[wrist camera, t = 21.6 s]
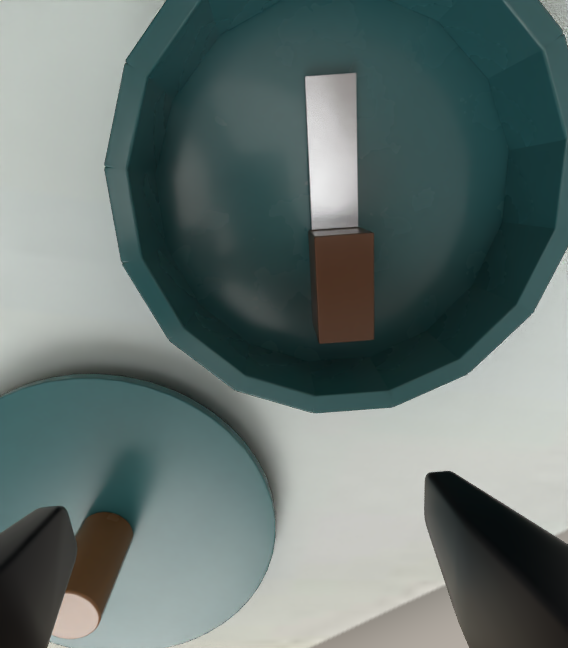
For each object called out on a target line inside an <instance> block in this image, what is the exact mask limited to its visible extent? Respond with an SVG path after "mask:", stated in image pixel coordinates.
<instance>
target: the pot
mask: <svg viewBox="0 0 568 648" xmlns="http://www.w3.org/2000/svg"><path fill="white" fill-rule="evenodd" d="M562 33H563V30H562V29H561V28H560V26H559V25H558V24H557V23H556V21H555V20H554V19H553V17H552V16H551V15H550V14H549V12H548V11H547V10H546V9H545V7H544V6H543V5H542V3H541V2H540V1H539V0H166V2H165V3H164V5H163V6H162V8H161V9H160V11H159V12H158V13H157V15H156V16H155V18H154V19H153V21H152V22H151V24H150V25H149V27H148V28H147V30H146V31H145V33H144V34H143V35H142V37H141V38H140V40H139V41H138V43H137V44H136V46H135V47H134V49H133V50H132V52H131V53H130V55H129V56H128V57H127V59H126V63H125V65H124V69H123V74H122V79H121V84H120V89H119V94H118V99H117V104H116V109H115V114H114V119H113V124H112V129H111V134H110V139H109V144H108V148H107V153H106V158H105V163H104V164H105V169H104V170H105V176H106V181H107V187H108V192H109V198H110V203H111V209H112V214H113V220H114V225H115V231H116V236H117V242H118V247H119V253H120V258H121V262H122V263H123V264H122V265H123V267H124V269H125V270H126V272H127V273H128V275H129V277H130V278H131V280H132V281H133V283H134V285H135V286H136V288H137V290H138V291H139V293H140V294H141V296H142V298H143V299H144V301H145V303H146V304H147V306H148V307H149V309H150V311H151V312H152V314H153V316H154V317H155V319H156V320H157V322H158V324H159V325H160V327H161V328H162V330H163V332H164V333H165V335H166V337H167V338H168V339H169V341H170V342H171V343H173V344H174V345H175V346H177V347H178V348H179V349H181V350H182V351H183V352H185V353H186V354H187V355H189V356H190V357H191V358H193V359H194V360H195V361H197V362H198V363H199V364H200V365H202V366H203V367H204V368H206V369H207V370H208V371H210V372H211V373H212V374H214V375H215V376H216V377H218V378H219V379H220V380H222V381H223V382H224V383H226V384H227V385H228V386H230V387H231V388H232V389H234V390H236V391H238V392H242V393H245V394H248V395H252V396H255V397H259V398H262V399H266V400H269V401H273V402H276V403H280V404H283V405H286V406H290V407H293V408H297V409H300V410H304V411H307V412H311V413H312V412H313V413H325V412H338V411H352V410H365V409H379V408H392V407H395V406H397V405H399V404H402V403H404V402H406V401H408V400H411V399H413V398H415V397H417V396H420V395H422V394H424V393H426V392H429V391H431V390H433V389H435V388H438V387H440V386H442V385H444V384H447V383H449V382H451V381H453V380H456V379H458V378H460V377H462V376H465V375H467V374H468V373H469V372H471V371H472V370H473V369H474V368H475V367H476V366H477V365H478V364H479V363H480V362H481V361H482V360H484V359H485V358H486V357H487V356H488V355H489V354H490V353H491V352H492V351H493V350H494V349H495V348H496V347H497V346H498V345H500V344H501V343H502V342H503V341H504V340H505V339H506V338H507V337H508V336H509V335H510V334H511V333H512V332H513V331H514V330H516V329H517V328H518V327H519V326H520V325H521V324H522V323H523V322H524V321H525V320H526V319H527V318H528V317H529V316H531V313H533V312H534V310H535V308H536V306H537V304H538V303H539V301H540V299H541V297H542V295H543V293H544V291H545V289H546V287H547V285H548V284H549V282H550V280H551V278H552V276H553V274H554V272H555V270H556V268H557V266H558V265H559V263H560V261H561V259H562V257H563V255H564V253H565V251H566V249H567V247H568V46H567V42H566V38H565V35H564V34H562ZM352 72H356V73H357V139H358V218H359V227H360V228H363V229H366V230H368V231H371V232H373V233H374V340H366V341H352V342H338V343H325V344H319V342H318V339H317V336H316V333H315V329H314V326H313V321H312V300H311V279H310V258H309V238H308V231H309V230H311V225H310V204H309V182H308V160H307V139H306V117H305V95H304V76H307V75H322V74H337V73H352Z"/></svg>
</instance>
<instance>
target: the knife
mask: <svg viewBox="0 0 568 648" xmlns="http://www.w3.org/2000/svg"><path fill="white" fill-rule="evenodd" d="M304 95H305V117H306V139H307V160H308V182H309V204H310V225H311V230H309V231H308V238H309V258H310V279H311V300H312V321H313V326H314V329H315V333H316V336H317V339H318V342H319V344H325V343H338V342H352V341H366V340H374V233H373V232H371V231H368V230H366V229H363V228H360V227H359V218H358V139H357V73H356V72H352V73H337V74H322V75H307V76H304Z"/></svg>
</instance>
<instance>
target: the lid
mask: <svg viewBox="0 0 568 648" xmlns="http://www.w3.org/2000/svg"><path fill="white" fill-rule="evenodd" d="M51 506H63V507H65V509H66V510H67V512H68V514H69V518H70V521H71V525H72V528H73V532H74V535H75V539H76V542H77V556H76V560H75V564H74V567H73V570H72V573H71V576H70V579H69V582H68V585H67V588H66V591H65V594H64V598H63V601H62V604H61V607H60V610H59V613H58V616H57V619H56V622H55V625H54V628H53V632H52V635H51V638H50V641H49V642H51V643H54V644H57V645H61V646H65V647H69V648H169V647H173V646H176V645H179V644H182V643H185V642H188V641H191V640H193V639H196V638H198V637H200V636H202V635H204V634H206V633H208V632H210V631H212V630H213V629H215V628H216V627H218V626H220V625H221V624H223V623H224V622H226V621H227V620H228V619H229V618H231V617H232V616H233V615H234V614H236V613H237V612H238V611H239V610H240V609H241V608H242V607H243V606H244V605H245V604H246V603H247V601H248V600H249V599H250V598H251V597H252V595H253V594H254V592H255V591H256V590H257V588H258V587H259V585H260V583H261V581H262V579H263V578H264V576H265V574H266V572H267V570H268V567H269V564H270V560H271V557H272V554H273V549H274V542H275V509H274V503H273V497H272V493H271V490H270V487H269V484H268V481H267V478H266V476H265V474H264V472H263V470H262V468H261V466H260V464H259V462H258V460H257V459H256V457H255V456H254V454H253V453H252V452H251V450H250V449H249V447H248V446H247V444H246V443H245V442H244V441H243V440H242V439H241V438H240V437H239V435H238V434H237V433H236V432H235V431H234V430H233V429H232V428H231V427H230V426H229V425H228V424H226V423H225V422H224V421H223V420H222V419H220V418H219V417H218V416H217V415H216V414H214V413H213V412H212V411H210V410H208V409H207V408H205V407H204V406H202V405H201V404H199V403H197V402H196V401H194V400H192V399H190V398H188V397H186V396H184V395H182V394H180V393H178V392H176V391H174V390H172V389H169V388H166V387H163V386H160V385H157V384H154V383H151V382H148V381H144V380H139V379H135V378H130V377H126V376H117V375H107V374H73V375H66V376H58V377H51V378H47V379H44V380H40V381H36V382H32V383H29V384H26V385H24V386H21V387H19V388H17V389H14V390H12V391H9V392H7V393H5V394H4V395H2V396H0V533H1V532H3V531H4V530H6V529H7V528H9V527H10V526H12V525H13V524H15V523H16V522H18V521H19V520H21V519H22V518H24V517H25V516H27V515H28V514H30V513H31V512H33V511H34V510H36V509H38V508H41V507H51Z"/></svg>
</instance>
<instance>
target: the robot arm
mask: <svg viewBox="0 0 568 648" xmlns="http://www.w3.org/2000/svg"><path fill="white" fill-rule="evenodd" d="M424 515H425V522H426V526H427V529H428V532H429V535H430V538H431V542H432V545H433V548H434V551H435V554H436V557H437V560H438V563H439V566H440V569H441V572H442V575H443V578H444V581H445V584H446V587H447V590H448V593H449V596H450V599H451V602H452V605H453V608H454V610H455V613H456V616H457V619H458V622H459V624H460V627H461V629H462V631H463V634H464V636H465V639H466V641H467V643H468V645H469V648H568V544H566V543H565V542H563V541H562V540H560V539H559V538H557V537H555V536H554V535H552V534H551V533H549V532H547V531H546V530H544V529H543V528H541V527H539V526H538V525H536V524H535V523H533V522H531V521H530V520H528V519H527V518H525V517H524V516H522V515H520V514H519V513H517V512H516V511H514V510H512V509H511V508H509V507H508V506H506V505H504V504H503V503H501V502H500V501H498V500H496V499H495V498H493V497H492V496H490V495H488V494H487V493H485V492H484V491H482V490H481V489H479V488H477V487H476V486H474V485H473V484H471V483H469V482H468V481H466V480H465V479H463V478H461V477H460V476H458V475H457V474H455V473H453V472H451V471H442V472H431V473H428V474H427V475H426V478H425V500H424ZM76 556H77V542H76V539H75V535H74V532H73V528H72V525H71V521H70V518H69V514H68V512H67V510H66V509H65V507H63V506H51V507H41V508H38V509H36V510H34V511H33V512H31V513H30V514H28V515H27V516H25V517H24V518H22V519H21V520H19V521H18V522H16V523H15V524H13V525H12V526H10V527H9V528H7V529H6V530H4V531H3V532H1V533H0V648H47V647H48V644H49V641H50V638H51V635H52V632H53V628H54V625H55V622H56V619H57V616H58V613H59V610H60V607H61V604H62V601H63V598H64V594H65V591H66V588H67V585H68V582H69V579H70V576H71V573H72V570H73V567H74V564H75V560H76Z"/></svg>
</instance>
